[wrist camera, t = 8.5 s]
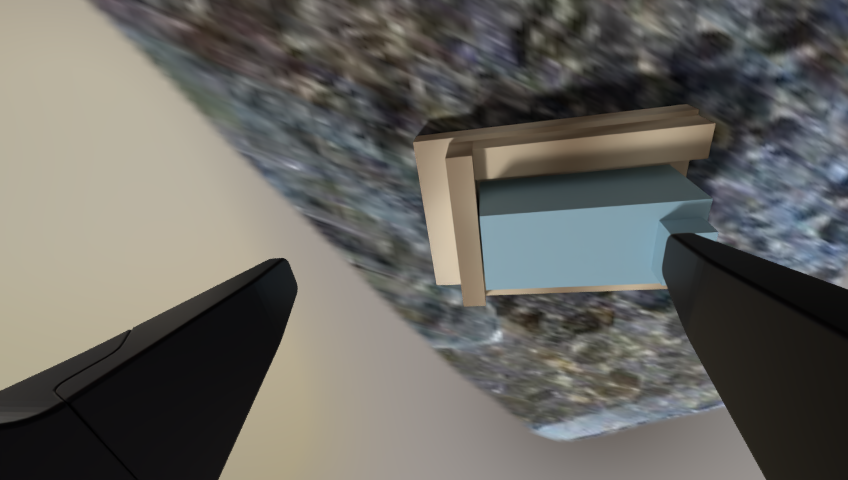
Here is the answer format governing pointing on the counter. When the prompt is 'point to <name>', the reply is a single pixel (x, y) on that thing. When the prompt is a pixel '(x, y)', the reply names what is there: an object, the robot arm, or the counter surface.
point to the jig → (532, 157)
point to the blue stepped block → (587, 227)
